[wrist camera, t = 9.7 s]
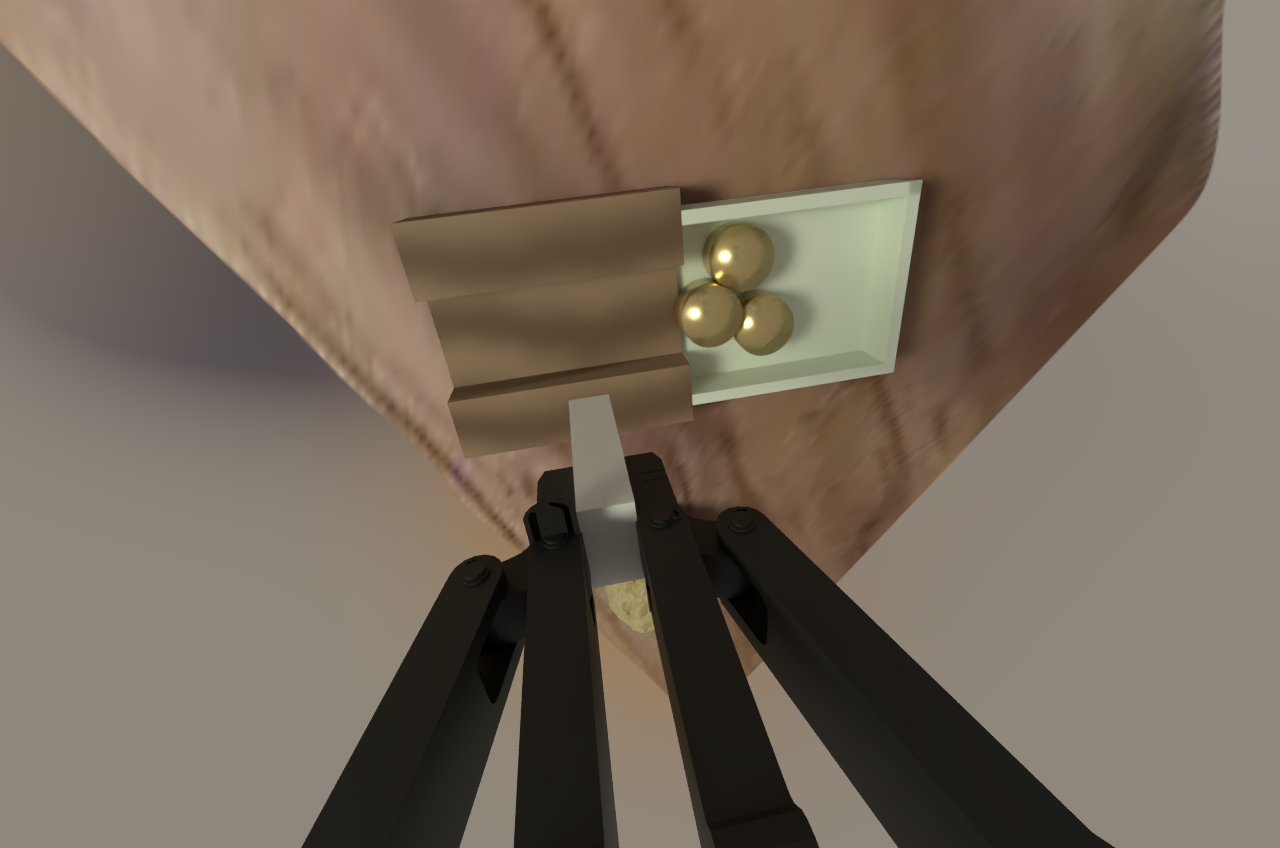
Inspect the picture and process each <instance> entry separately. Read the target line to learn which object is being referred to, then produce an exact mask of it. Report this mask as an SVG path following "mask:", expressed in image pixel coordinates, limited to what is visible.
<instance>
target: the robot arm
mask: <svg viewBox="0 0 1280 848" xmlns="http://www.w3.org/2000/svg"><path fill="white" fill-rule="evenodd" d="M569 415H570V429H571V444H572V459H573V467H568V468H562V469H556V470H550V471H545V472H544V473H543V475H542V476H541V478H540V479H539V481H538V488H537V493H538V494H537V504H535V505H533V506H532V507H531V508H530V509H529V510H528V511H527V512H526V513H525V516H524V518H523V521H524V525H525V528H526V532H527V535H528V539H529V543H530V546H529V547H528V548H527V549H526V550H524V551H523V552H522V553H520V554H518V555H516V556H515V557H513V558H510V559H508V560H506V561H503V562H500V560H499V559H498V558H496V557H495V556H491V555H479V556H474V557H472V558H469V559H467V560H465V561H463V562H462V563H461V564H459V565H458V566H457V567H456V568H455V569H454V570H453V571H452V573H451V574H450V576H449V577H448V580H447V581H446V583H445V585H444V587H443V589H442V590H441V592H440V594H439V596H438V598H437V600H436V601H435V603H434V605H433V607H432V609H431V611H430V613H429V614H428V616H427V618H426V620H425V622H424V623H423V625H422V627H421V629H420V631H419V633H418V635H417V636H416V638H415V640H414V642H413V644H412V645H411V647H410V649H409V651H408V653H407V655H406V656H405V658H404V660H403V662H402V664H401V666H400V668H399V669H398V671H397V673H396V675H395V677H394V678H393V680H392V682H391V684H390V686H389V688H388V690H387V692H386V693H385V695H384V697H383V699H382V701H381V702H380V704H379V706H378V708H377V710H376V712H375V713H374V715H373V717H372V719H371V721H370V723H369V724H368V726H367V728H366V730H365V732H364V734H363V735H362V737H361V739H360V741H359V743H358V745H357V747H356V748H355V750H354V752H353V754H352V756H351V757H350V759H349V761H348V763H347V765H346V767H345V768H344V770H343V772H342V774H341V776H340V778H339V780H338V781H337V784H336V785H335V787H334V789H333V791H332V792H331V794H330V796H329V798H328V800H327V802H326V804H325V805H324V807H323V809H322V811H321V813H320V814H319V816H318V818H317V820H316V822H315V824H314V825H313V828H312V829H311V831H310V833H309V835H308V837H307V838H306V840H305V842H304V844H303V846H302V848H459V847H460V843H461V840H462V837H463V834H464V831H465V828H466V825H467V822H468V818H469V815H470V812H471V809H472V806H473V803H474V800H475V797H476V794H477V791H478V787H479V784H480V781H481V778H482V775H483V772H484V769H485V766H486V762H487V759H488V756H489V753H490V750H491V746H492V744H493V740H494V737H495V734H496V731H497V728H498V725H499V722H500V719H501V716H502V712H503V709H504V706H505V703H506V700H507V697H508V694H509V691H510V687H511V684H512V681H513V678H514V675H515V672H516V669H517V665H518V663H519V660H520V656H521V653H522V650H523V647H524V644H525V649H524V664H523V684H522V703H521V722H520V740H519V759H518V777H517V796H516V815H515V834H514V848H619V842H618V832H617V822H616V812H615V803H614V792H613V782H612V772H611V762H610V752H609V742H608V732H607V721H606V712H605V703H604V702H605V701H604V692H603V681H602V672H601V661H600V652H599V641H598V631H597V621H596V611H595V602H594V598H593V593H592V588H597V587H603V586H608V585H613V584H618V583H623V582H628V581H633V580H639V579H644V578H645V583H646V590H647V598H648V605H649V612H651V615H652V620H653V624H654V629H655V634H656V638H657V643H658V648H659V652H660V657H661V662H662V666H663V671H664V676H665V680H666V685H667V690H668V694H669V699H670V703H671V708H672V712H673V717H674V722H675V727H676V732H677V736H678V741H679V746H680V750H681V755H682V759H683V764H684V769H685V773H686V778H687V783H688V787H689V792H690V797H691V802H692V806H693V811H694V816H695V820H696V825H697V829H698V834H699V839H700V844H701V848H819V846H818V843H817V841H816V838H815V836H814V833H813V831H812V829H811V826H810V824H809V822H808V820H807V818H806V816H805V815H804V813H803V811H802V809H800V808H799V807H798V806H797V805H796V804H795V803H794V802H793V800H792V798H791V796H790V794H789V791H788V789H787V786H786V783H785V781H784V778H783V775H782V773H781V770H780V767H779V765H778V762H777V759H776V756H775V754H774V751H773V748H772V746H771V743H770V740H769V738H768V735H767V732H766V730H765V727H764V724H763V722H762V719H761V716H760V713H759V711H758V708H757V705H756V702H755V700H754V697H753V694H752V692H751V689H750V687H749V684H748V681H747V678H746V675H745V673H744V670H743V667H742V665H741V662H740V659H739V657H738V654H737V651H736V649H735V646H734V643H733V640H732V638H731V635H730V632H729V630H728V627H727V624H726V622H725V619H724V616H723V613H722V611H721V608H720V605H719V603H718V600H717V598H720V600H721V603H722V604H723V606H724V607H725V608H726V610H727V611H728V612H729V614H730V615H731V617H732V618H733V619H734V621H735V622H736V624H737V625H738V626H739V628H740V629H741V630H742V632H743V633H744V635H745V636H746V637H747V639H748V640H749V642H750V643H751V644H752V646H753V647H754V648H755V650H756V651H757V653H758V654H759V655H760V657H761V658H762V660H763V661H764V662H765V664H766V665H767V666H768V668H769V669H770V671H771V672H772V673H773V675H774V676H775V678H776V679H777V680H778V682H779V683H780V684H781V686H782V687H783V688H784V690H785V691H786V693H787V694H788V695H789V697H790V698H791V700H792V701H793V702H794V704H795V705H796V707H797V708H798V709H799V711H800V712H801V713H802V715H803V716H804V717H805V719H806V720H807V722H808V723H809V725H810V726H811V727H812V729H813V730H814V731H815V733H816V734H817V736H818V737H819V738H820V740H821V741H822V743H823V744H824V745H825V747H826V748H827V749H828V751H829V752H830V754H831V755H832V756H833V758H834V759H835V761H836V762H837V763H838V765H839V766H840V768H841V769H842V770H843V772H844V773H845V774H846V776H847V777H848V779H849V780H850V781H851V783H852V784H853V786H854V787H855V788H856V790H857V791H858V792H859V794H860V795H861V797H862V798H863V799H864V801H865V802H866V804H867V805H868V806H869V808H870V809H871V810H872V812H873V813H874V815H875V816H876V817H877V819H878V820H879V821H880V823H881V824H882V826H883V827H884V828H885V830H886V831H887V833H888V834H889V835H890V837H891V838H892V839H893V841H894V842H895V844H896V845H897V846H898V848H1115V847H1113V846H1112V845H1110V844H1109V843H1107V842H1106V841H1104V840H1103V839H1101V838H1100V837H1098V836H1096V835H1095V834H1094V833H1092V832H1091V831H1090V830H1089V829H1088V828H1087V827H1086V826H1085V825H1084V824H1083V823H1082V822H1081V821H1080V820H1079V819H1078V818H1077V817H1076V816H1075V815H1074V814H1073V813H1072V812H1071V811H1069V810H1068V809H1067V808H1066V807H1065V806H1064V805H1063V804H1062V803H1061V802H1060V801H1059V800H1058V799H1057V798H1056V797H1055V796H1054V795H1053V794H1052V793H1051V792H1050V791H1049V790H1048V789H1046V787H1045V786H1044V785H1043V784H1042V783H1040V782H1039V780H1038V779H1036V778H1035V777H1034V776H1033V775H1032V774H1031V773H1030V772H1029V771H1028V770H1027V769H1026V768H1025V767H1024V766H1023V765H1022V764H1021V763H1020V762H1019V761H1018V760H1017V759H1016V758H1015V757H1014V756H1013V755H1012V754H1011V753H1010V752H1009V751H1007V749H1005V748H1004V747H1003V746H1002V745H1001V744H1000V743H999V742H998V741H997V740H996V739H995V738H994V737H993V736H992V735H991V734H990V733H989V732H988V731H987V730H986V729H985V728H984V727H983V726H981V724H980V723H979V722H978V721H977V720H976V719H974V718H973V717H972V716H971V715H970V714H969V713H968V712H967V711H966V710H965V709H964V708H963V707H962V706H961V705H960V704H959V703H958V702H957V701H956V700H955V699H954V698H953V697H952V696H951V695H950V694H949V693H948V692H947V691H945V690H944V689H943V688H942V687H941V686H940V685H939V684H938V683H937V682H936V681H935V680H934V679H933V678H932V677H931V676H930V675H929V674H928V673H927V672H926V671H925V670H924V669H923V668H922V667H921V666H920V665H919V664H918V663H916V661H915V660H913V659H912V658H911V657H910V656H909V655H908V654H907V653H906V652H905V651H904V650H903V649H902V648H901V647H900V646H899V645H898V644H897V643H896V642H895V641H894V640H893V639H892V638H891V637H890V636H889V635H888V634H887V633H885V631H884V630H882V628H880V627H879V626H878V625H877V624H876V623H875V622H874V621H873V620H872V619H871V618H870V617H869V616H868V615H867V614H866V613H865V612H864V611H863V610H862V609H861V608H860V607H859V606H858V605H857V604H856V603H854V601H853V600H852V599H851V598H849V597H848V596H847V595H846V594H845V593H844V592H843V591H842V590H841V589H840V588H839V587H838V586H837V585H836V584H835V583H834V582H833V581H832V580H831V579H830V578H829V577H828V576H827V575H826V574H825V573H824V572H823V571H822V570H821V569H820V568H818V567H817V566H816V565H815V564H814V563H813V562H812V561H811V560H810V559H809V558H808V557H807V556H806V555H805V554H804V553H803V552H802V551H801V550H800V549H799V548H798V547H797V546H796V545H795V544H794V543H793V542H792V541H791V540H790V539H789V538H787V537H786V536H785V535H784V534H783V533H782V532H781V531H780V530H779V529H778V528H777V527H776V526H775V525H774V524H773V523H772V522H771V521H770V520H769V519H768V518H767V517H766V516H765V515H764V514H762V513H761V512H759V511H758V510H756V509H753V508H749V507H738V506H737V507H733V508H728V509H727V510H725V511H723V512H721V513H720V515H719V516H718V517H717V521H709V520H699V519H695V518H692V517H689V516H688V515H686V514H685V513H684V511H683V510H682V509H681V508H679V506H678V504H677V501H676V498H675V495H674V493H673V490H672V487H671V484H670V482H669V479H668V476H667V473H666V471H665V468H664V465H663V462H662V460H661V459H660V458H659V457H658V456H657V455H655V454H654V453H653V452H649V453H643V454H637V455H631V456H626V457H624V456H623V451H622V447H621V443H620V439H619V435H618V431H617V426H616V422H615V418H614V414H613V410H612V406H611V401H610V397H609V394H607V395H600V396H594V397H588V398H581V399H575V400H569Z"/></svg>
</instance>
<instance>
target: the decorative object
mask: <svg viewBox="0 0 1280 848" xmlns="http://www.w3.org/2000/svg"><path fill="white" fill-rule="evenodd" d="M604 587H605V590H606V593H607V596H608V598H609V600H608V602H609V605H610V608H611V609H612V610H613V611H614V612H615V613H616V615H617V616H618V617H619V618H620V619H621V620H623V621H624V622H626V623H627V624H628V625H629V626H630V627H631V628H632V629H633V630H636V631H638V632H640V633H646V632H650V631H653V630H655V629H654V624H653V620H652V615H651V612H649V605H648V598H647V590H646V583H645V578H644V579H639V580H633V581H628V582H623V583H618V584H613V585H608V586H604Z"/></svg>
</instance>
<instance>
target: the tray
mask: <svg viewBox="0 0 1280 848" xmlns="http://www.w3.org/2000/svg"><path fill="white" fill-rule="evenodd" d="M922 181H923V180H915V179H882V180H874V181H867V182H859V183H851V184H843V185H835V186H827V187H820V188H812V189H804V190H796V191H788V192H780V193H773V194H765V195H757V196H749V197H741V198H733V199H725V200H718V201H710V202H702V203H694V204H686V205H681V217H682V234H683V250H684V265H680V266H676V275H677V290H678V294H679V292H680V291H681V290H682V288H684V287H685V286H686V285H687V284H689V283H690V282H692V281H695V280H698V279H710V280H713V281H715V280H714V279H713V278H711V277H710V276H709V274H708V273H707V272H706V270H705V268H704V265H703V260H702V253H703V247H704V244H705V242H706V239H707V238H708V236H709V235H710V233H711V232H712V231H713V230H714V229H715V228H717V227H718V226H720V225H721V224H724V223H727V222H732V221H737V222H742V223H746V224H749V225H753V226H756V227H759V228H761V229H762V230H764V231H765V232H766V233H767V234H768V236H769V237H770V239H771V240H772V243H773V246H774V263H773V266H772V269H771V271H770V273H769V275H768V276H767V278H766V279H765V280H764V281H763V282H762V283H761V284H760V285H758V286H757V287H755V288H753V289H751V290H763V291H766V292H768V293H770V294H771V295H773V296H775V297H777V298H778V299H780V300H782V301H784V302H785V303H786V304H787V305H788V306H789V307H790V309H791V311H792V313H793V317H794V327H793V331H792V334H791V336H790V338H789V340H788V341H787V343H786V344H785V345H784V346H783V347H782V348H781V349H779V350H778V351H776V352H774V353H772V354H769V355H765V356H757V355H753V354H750V353H748V352H747V351H745V350H744V349H743V348H742V347H741V346H740V345H739V344H738V343H737V342H736V341H735V340H734V339H733V338H731V339H730V340H729V341H728V342H726V343H724V344H723V345H720V346H717V347H712V348H706V347H701V346H698V345H696V344H695V343H693V342H692V341H691V340H690V339H689V338H688V337H687V336H686V335H685V334H684V332H683V331H682V330H681V329H680V334H681V349H682V354H683V355H684V356H685V358H686V359H687V361H688V362H689V364H690V369H691V385H692V402H693V405H698V404H704V403H710V402H716V401H722V400H728V399H734V398H740V397H746V396H753V395H759V394H765V393H771V392H777V391H783V390H789V389H795V388H801V387H807V386H813V385H819V384H825V383H831V382H837V381H844V380H850V379H856V378H862V377H868V376H874V375H880V374H886V373H892V372H894V366H895V360H896V353H897V347H898V340H899V333H900V327H901V320H902V313H903V307H904V300H905V293H906V287H907V280H908V274H909V267H910V260H911V254H912V247H913V240H914V234H915V227H916V220H917V214H918V207H919V201H920V194H921V187H922ZM716 282H717V281H716ZM717 283H718V282H717ZM719 284H720V283H719ZM722 286H723V285H722ZM730 291H732V290H730ZM748 291H749V290H748ZM732 292H733V293H734V294H735V295H736V296H737V297H738V296H739V295H741V294H742V293H744V292H746V291H743V292H737V291H732Z"/></svg>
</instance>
